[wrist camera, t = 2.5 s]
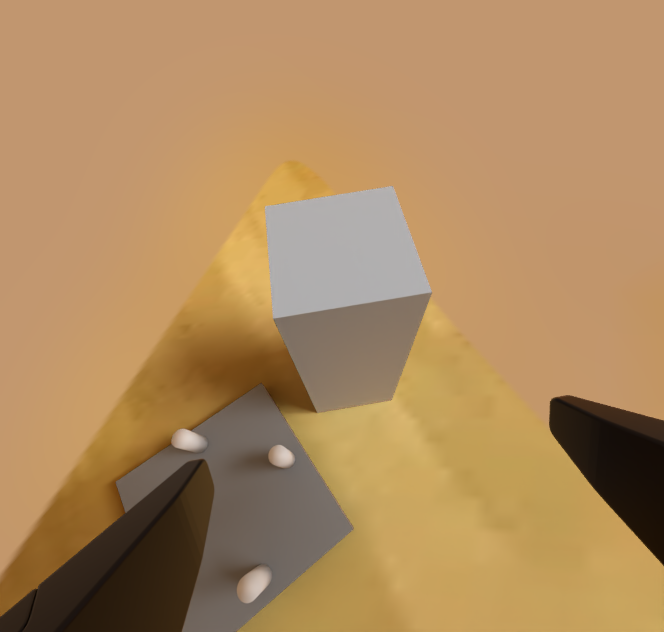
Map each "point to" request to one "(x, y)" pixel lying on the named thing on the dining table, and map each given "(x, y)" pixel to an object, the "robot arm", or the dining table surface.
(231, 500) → the plate
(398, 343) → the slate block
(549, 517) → the dining table surface
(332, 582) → the dining table surface
